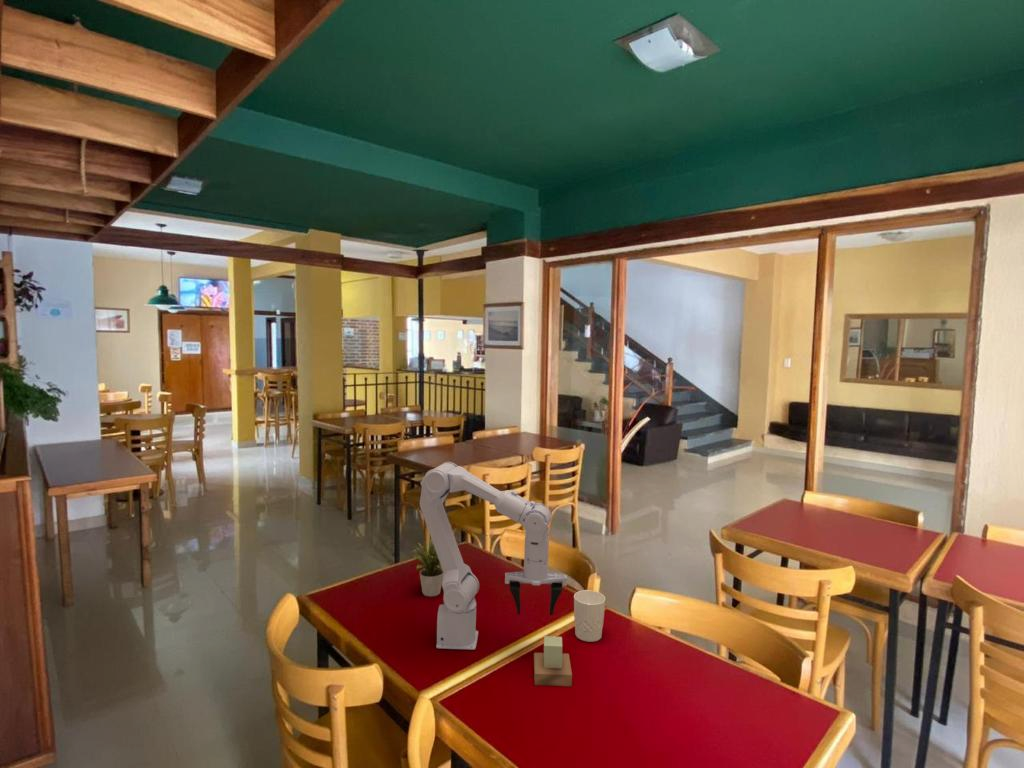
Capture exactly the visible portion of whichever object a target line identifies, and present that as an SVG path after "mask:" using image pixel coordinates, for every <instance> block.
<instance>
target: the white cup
mask: <svg viewBox="0 0 1024 768" xmlns="http://www.w3.org/2000/svg"><path fill="white" fill-rule="evenodd" d="M605 608H606V596H605V595H604V594H602V593H601V592H599V591H596V590H591V589H585V590H584V589H583V590H582V589H581V590H579V591H577V592H575V593H574V594H573V611H574V612H573V613H574V615H573V616H574V635H575V636H576V638H577V639H579V640H581V641H583V642H588V643H589V642H591V643H592V642H597V641H599V640H601V639H602V634H603V626H604V622H605V620H604V618H605Z"/></svg>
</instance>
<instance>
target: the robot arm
mask: <svg viewBox="0 0 1024 768" xmlns="http://www.w3.org/2000/svg"><path fill="white" fill-rule="evenodd" d="M420 486H421V492H420V499H419V508H420V510H421V513H422V516H423V519H424V521H425V524H426V527H427V529H428V532H429V535H430V538H432V541H433V544H434V550H436V553H437V555H438V558H439V561H440V563H439V564H441V567H442V570H443V573H444V574H443V579H442V585H441V588H442V590H443V599H442V600H443V604H439V606H438V609H437V610H438V611H437V619H436V645H435V646H436V649H447V650H470V651H471V650H472V651H473V650H476V649H477V648H476V647H477V643H478V637H479V630H477V628H476V626H477V625H476V623H477V601H476V597H475V596H476V595H477V593H479V590H480V582H479V579H478V577H476V575H475V574H474V573H473V572H472V569H471V567H470V566H469V565H468V564H466V563H464V559H463V557H462V553H461V550H460V549H459V547H458V543H457V539H456V538H455V534H454V532H453V528H452V525H451V523H450V520H449V517H448V514H447V512H446V510H445V506H444V502H445V500H446V498H447V497H448V494H450V493H455V492H456V493H458V492H462V491H465V492H468V493H470V494H471V495H473V496H476V497H478V498H480V499H482V500H484V501H487V502H488V503H491V504H493V506H494V507H495V509H496V510H495V511H496V512H497V513H499V514H501V515H503V516H504V517H507V518H508V519H510V520H512V521H514V522H515V523H517V524H519V525H522V528H523V530H524V531H525V534H524V535H525V537H524V553H523V554H524V557H523V560H524V562H523V570H521V571H513V572H505V573H504V575H505V577H504V584H505V585H507V584H508V585H509V591H510V594H511V596H512V597H513V600H514V603H515V606H516V612H517V613H516V614H517V615H521V584H531V585H532V586H541V585H543V584H544V585H550V600H549V616H553V615H554V611H555V607H556V605H557V602H558V599H559V598H560V596H561V594H562V591H563V587H564V586H565V587H567V585H568V577H567V574H565V573H564V574H563V573H556V572H552V571H551V572H550V571H549V557H550V556H549V554H550V552H549V551H550V536H549V535H550V532H549V531H550V530H549V529H550V527H549V525H550V523H551V520H552V513H551V511H550V508H549V507H548V506H546V505H545V504H544V503H542V502H541V503H540V502H535V501H534V500H531V501H530V500H528V499H526V498H525V497H523V496H520V495H519V494H518V491H516V490H514V489H513V490H512V491H511V490H509V489H508V490H507V489H506V490H502V491H501V490H499V489H497V488H495V487H494V486H492V485H491V484H489V483H488V482H486V481H484V480H482V478H481V479H480V478H479V477H477V476H476V475H474V474H473V473H471V472H469V471H468V470H467V469H466V468H465V467H463V466H460V465H457V464H456V463H454V462H451V461H445V462H443V463H441V464H440V465H439V466H436V467H435V468H433V469H429V470H428V471H427V472H426V473H425V475H424V476H423V478H422V479H421V481H420Z"/></svg>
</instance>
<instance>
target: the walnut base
mask: <svg viewBox="0 0 1024 768" xmlns="http://www.w3.org/2000/svg"><path fill="white" fill-rule="evenodd" d="M533 672H534V673H533V675H534V679H533V680H534V686H549V687H550V686H556V687H573V686H572V685H573V680H572V679H573V673H572V667H571V660H570V654H569V653H562V669H559V668H544V652H534V653H533Z"/></svg>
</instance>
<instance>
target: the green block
mask: <svg viewBox="0 0 1024 768" xmlns="http://www.w3.org/2000/svg"><path fill="white" fill-rule="evenodd" d="M543 639H544V640H543V653H544V668H559V669H562V654H563V637H562V636H551V635H546V636H545V635H544V636H543Z"/></svg>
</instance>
